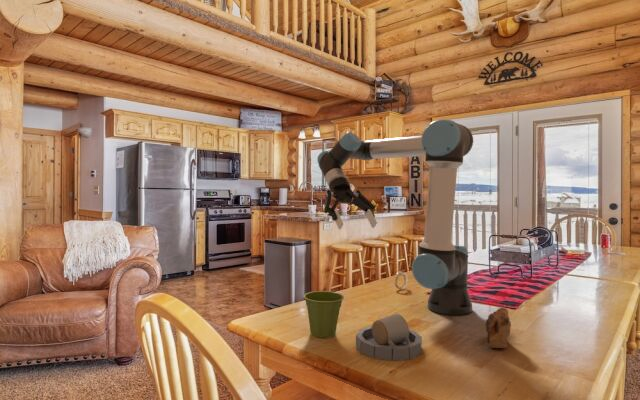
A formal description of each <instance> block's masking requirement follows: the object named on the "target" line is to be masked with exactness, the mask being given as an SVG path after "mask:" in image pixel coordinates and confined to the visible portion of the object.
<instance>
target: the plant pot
mask: <svg viewBox="0 0 640 400" xmlns="http://www.w3.org/2000/svg"><path fill="white" fill-rule="evenodd" d="M303 298H304V300H305V304H306V307H307V316H308V323H309V330H310V335H311V336H312V337H315V338H320V337H321V338H323V339H327V338H332V337H334V336H335V334H336V332H337V325H338V320H339V314H340V310H341V307H342V303H343V300H344V299H345V296H344V295H343V293H339V292H335V291H329V290H319V291H317V290H315V291H310V292H306V293H304V295H303Z"/></svg>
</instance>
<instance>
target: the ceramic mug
mask: <svg viewBox="0 0 640 400" xmlns="http://www.w3.org/2000/svg"><path fill="white" fill-rule="evenodd" d="M371 326H372V335H373V338H374V340H375V342H376V343H377V344H378V345H385V346H396V345H395V344H398V343H403V342H405V341H406V343H407V345H408V344H410V340H409V338H408V337H409V324H408V322H407V320H406V319H405V317H404V316H403V315H401V314H399V313H394V314H392V315H389V316H385V317H383V318H379V319H376V320H375V321H374V322H373V323H372V325H371Z"/></svg>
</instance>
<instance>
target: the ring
mask: <svg viewBox="0 0 640 400" xmlns="http://www.w3.org/2000/svg"><path fill="white" fill-rule="evenodd" d="M400 277H403V278H404V279H403V280H404V283H403V286H398V280H399V279H400ZM393 283H394V287H395V288H396V289H397V290H399V291H400V290H401V291H402V290H404V289H405V288H406V287H407V285H408V274H407V273H406V272H404V271H403V270H402V271H401V270H398V271H397V272H396V273H395V276H394V279H393Z"/></svg>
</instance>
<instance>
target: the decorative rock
mask: <svg viewBox="0 0 640 400" xmlns="http://www.w3.org/2000/svg"><path fill="white" fill-rule="evenodd" d="M510 320H511V319H510V316H509V310H508V309H507V308H506V307H501V308H498V309H497V310H496V311H493V312H492V313H489V315H488V316H487V319H486V320H485V322H484V323H485V330H486V333H487V344H488V345H489V348H492V349H493V348H495V349H504V348H507V346H508V339H509V337H510V334H511V327H512V324H511V321H510Z"/></svg>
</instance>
